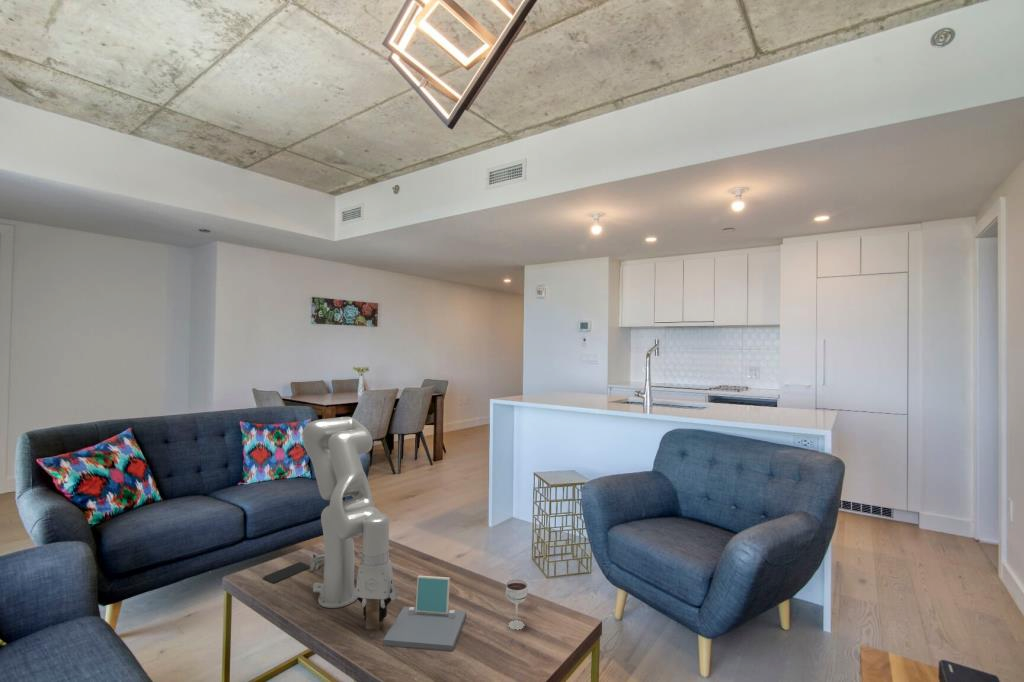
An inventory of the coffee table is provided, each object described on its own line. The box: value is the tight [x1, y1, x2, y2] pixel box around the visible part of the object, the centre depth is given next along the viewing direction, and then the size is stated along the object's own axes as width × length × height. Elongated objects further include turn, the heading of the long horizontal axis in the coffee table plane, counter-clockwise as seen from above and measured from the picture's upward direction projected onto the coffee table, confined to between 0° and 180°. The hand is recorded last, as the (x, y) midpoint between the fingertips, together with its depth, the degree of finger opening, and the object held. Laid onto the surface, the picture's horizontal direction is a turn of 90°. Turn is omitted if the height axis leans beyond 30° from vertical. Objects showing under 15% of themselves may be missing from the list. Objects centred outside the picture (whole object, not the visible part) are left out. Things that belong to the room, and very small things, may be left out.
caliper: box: [309, 553, 324, 573], centre depth 183 cm, size 20×1×6 cm, turn 151°
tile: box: [415, 575, 451, 614], centre depth 146 cm, size 10×10×1 cm
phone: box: [262, 561, 310, 584], centre depth 174 cm, size 7×1×15 cm
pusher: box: [365, 599, 385, 631], centre depth 142 cm, size 4×4×10 cm
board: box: [382, 606, 467, 652], centre depth 140 cm, size 20×17×3 cm
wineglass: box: [505, 579, 529, 631], centre depth 143 cm, size 7×7×12 cm
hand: (375, 617), depth 142 cm, fingers closed on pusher, 4 cm apart
